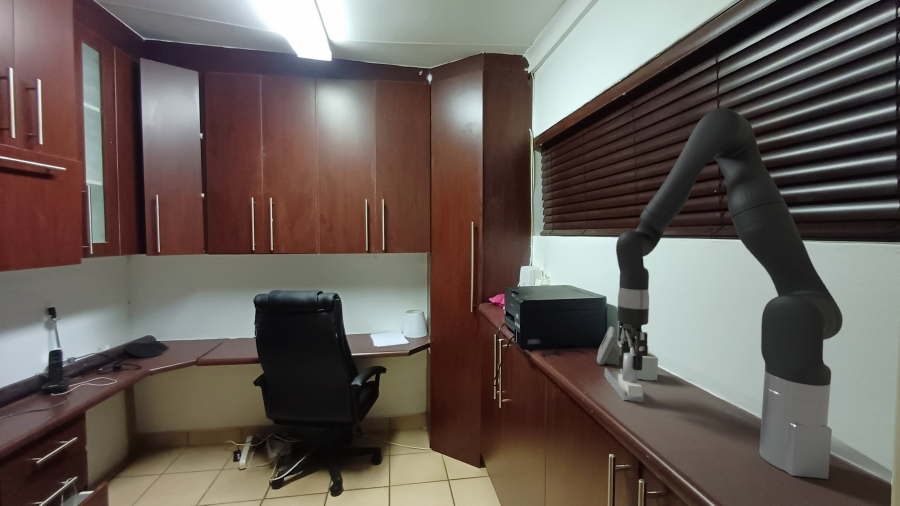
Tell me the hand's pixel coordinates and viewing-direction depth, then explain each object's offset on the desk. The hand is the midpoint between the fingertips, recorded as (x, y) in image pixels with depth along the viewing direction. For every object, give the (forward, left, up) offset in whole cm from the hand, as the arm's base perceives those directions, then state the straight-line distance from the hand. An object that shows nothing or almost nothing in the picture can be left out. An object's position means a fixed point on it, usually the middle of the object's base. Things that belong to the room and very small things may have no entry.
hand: (630, 364), depth 99 cm
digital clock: (+31, -3, -9) cm, 32 cm away
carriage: (0, 0, -7) cm, 7 cm away
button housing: (+17, -9, -9) cm, 21 cm away
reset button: (+17, -9, -3) cm, 19 cm away
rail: (+6, 0, -9) cm, 11 cm away
